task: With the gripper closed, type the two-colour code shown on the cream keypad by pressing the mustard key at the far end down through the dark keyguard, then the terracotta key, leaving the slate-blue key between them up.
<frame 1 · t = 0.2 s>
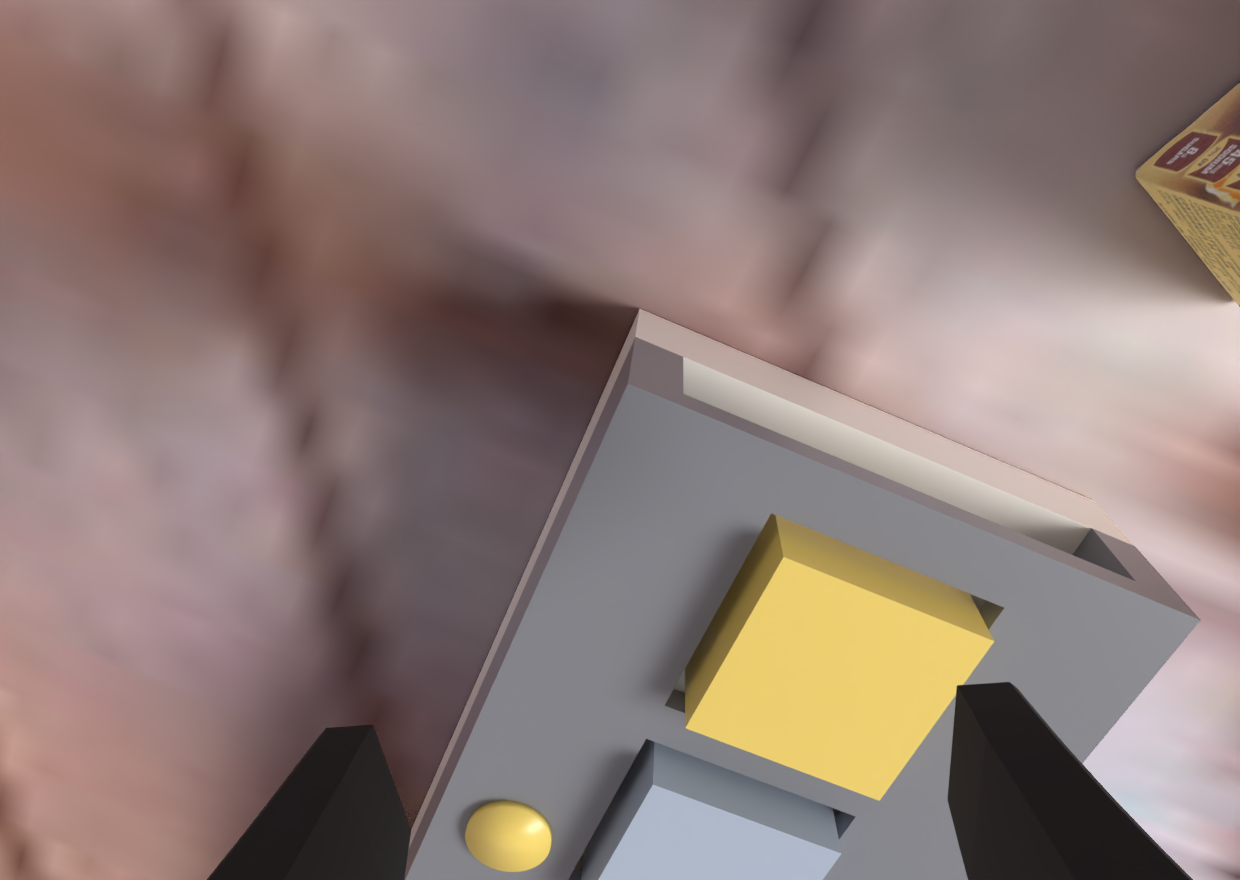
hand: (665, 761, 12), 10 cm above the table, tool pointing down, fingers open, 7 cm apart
key 3: (703, 850, 19), point 4 cm above the table, slide at 0.0 cm
key 4: (827, 655, 17), point 4 cm above the table, slide at 0.0 cm
keypad: (656, 782, 25), on the table
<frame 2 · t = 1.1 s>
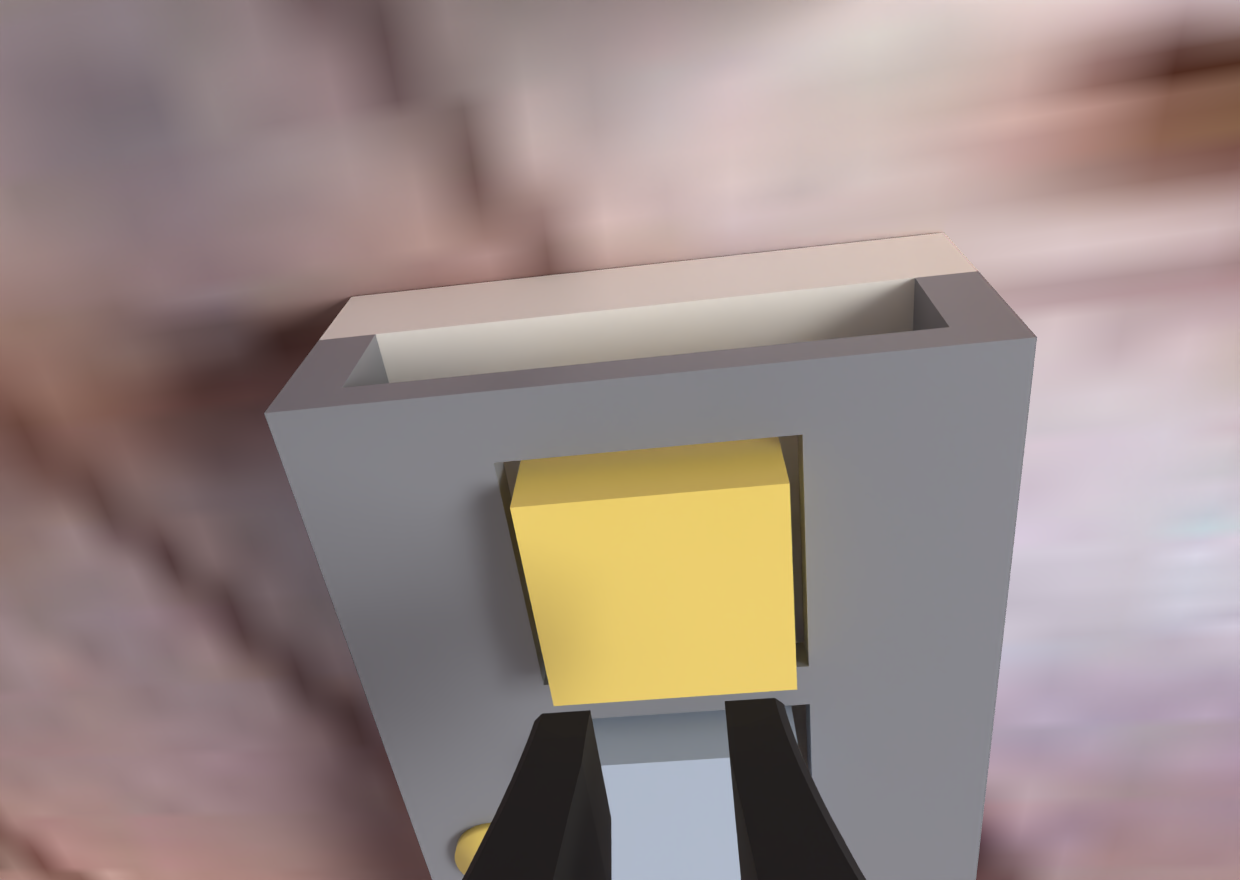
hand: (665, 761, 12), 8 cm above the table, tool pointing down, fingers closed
key 3: (690, 794, 18), point 4 cm above the table, slide at 0.0 cm
key 4: (661, 567, 15), point 4 cm above the table, slide at 0.0 cm
keypad: (692, 716, 23), on the table
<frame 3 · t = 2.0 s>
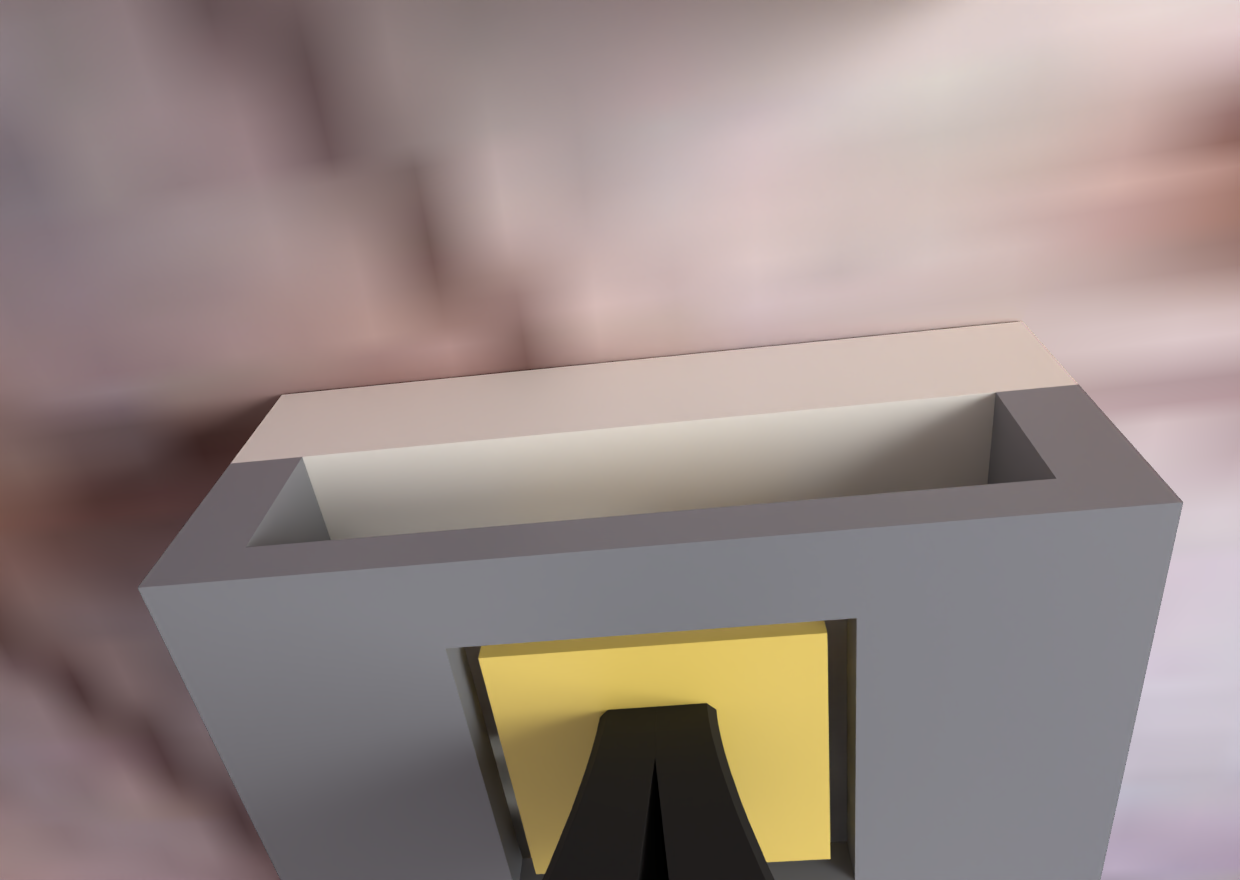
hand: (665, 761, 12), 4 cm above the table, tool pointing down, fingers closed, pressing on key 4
key 4: (665, 711, 12), point 4 cm above the table, slide at 0.9 cm, touching gripper
keypad: (701, 861, 19), on the table
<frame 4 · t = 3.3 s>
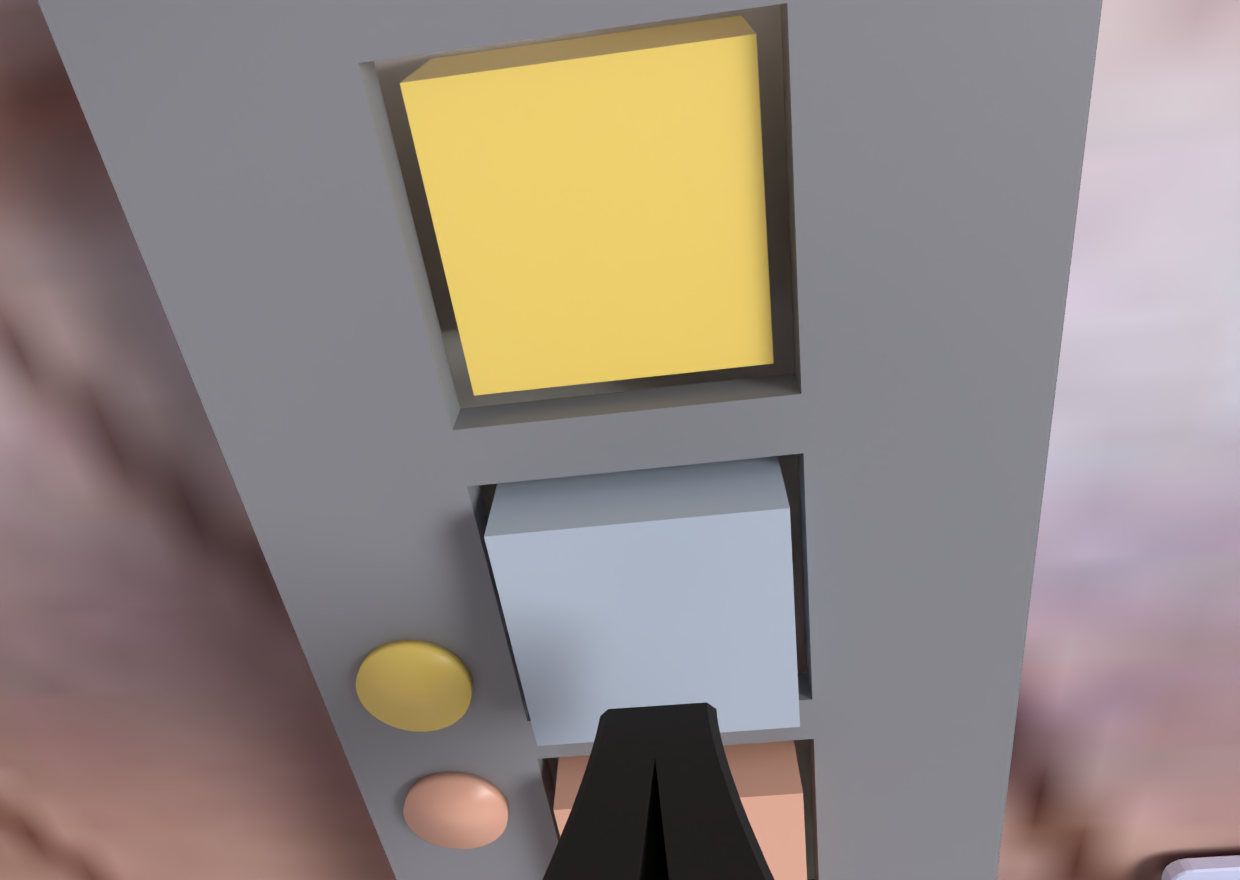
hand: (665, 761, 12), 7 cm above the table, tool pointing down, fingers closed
key 3: (651, 596, 14), point 4 cm above the table, slide at 0.0 cm
key 2: (686, 832, 17), point 4 cm above the table, slide at 0.0 cm
key 4: (603, 211, 12), point 3 cm above the table, slide at 1.2 cm
keypad: (665, 556, 19), on the table
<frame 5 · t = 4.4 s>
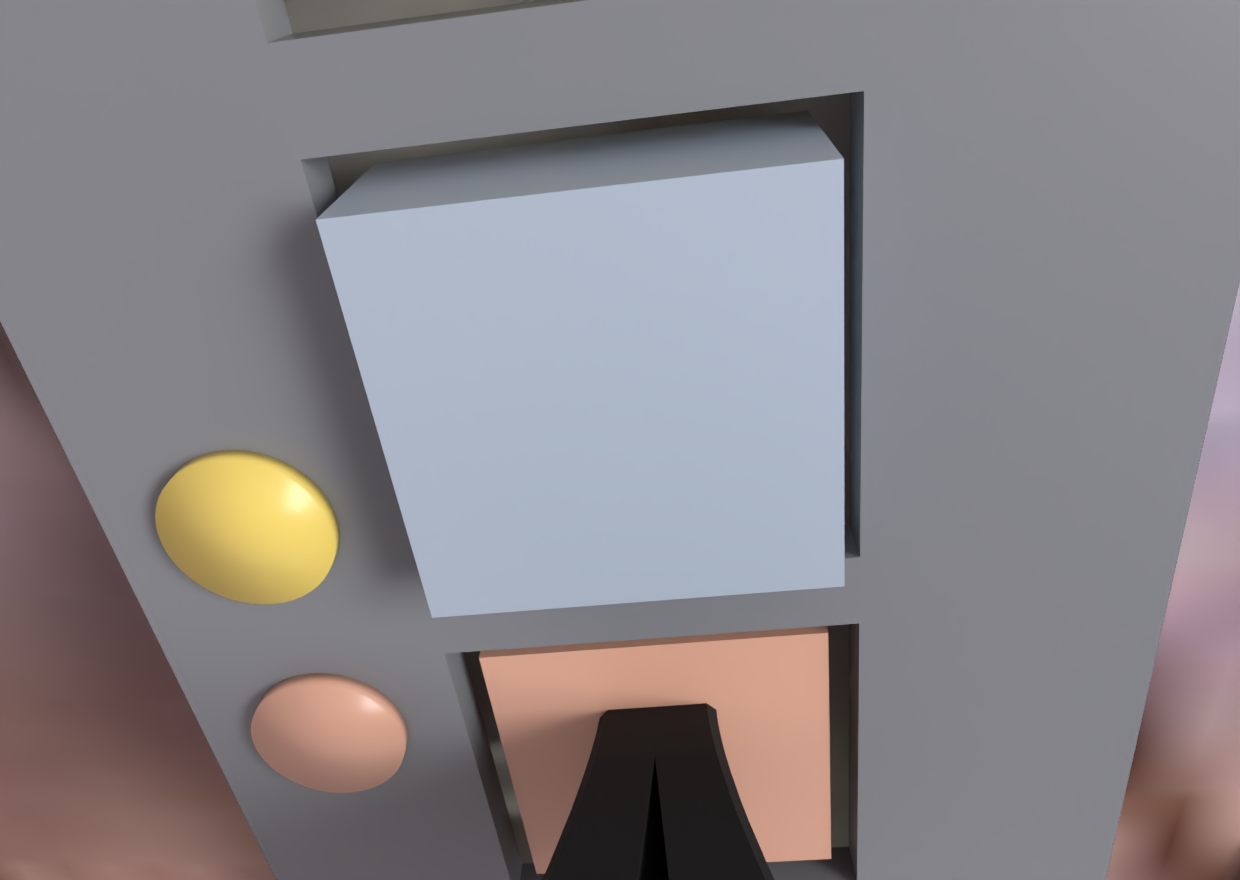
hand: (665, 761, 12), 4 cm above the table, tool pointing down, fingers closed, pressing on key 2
key 3: (611, 375, 9), point 4 cm above the table, slide at 0.0 cm
key 2: (666, 710, 12), point 3 cm above the table, slide at 1.0 cm, touching gripper
keypad: (645, 406, 14), on the table
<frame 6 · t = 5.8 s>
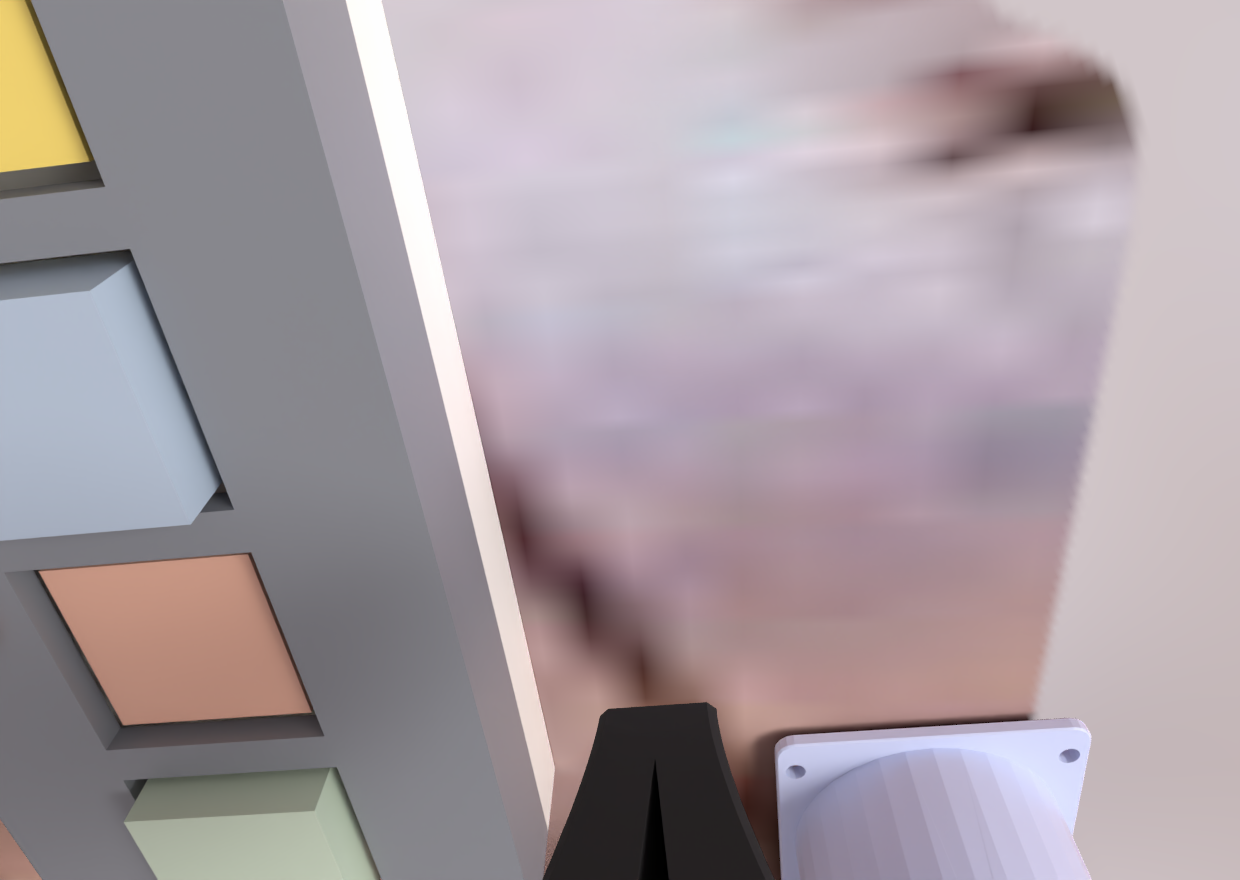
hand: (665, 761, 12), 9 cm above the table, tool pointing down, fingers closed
key 3: (51, 400, 15), point 4 cm above the table, slide at 0.0 cm
key 2: (201, 614, 19), point 3 cm above the table, slide at 1.2 cm
keypad: (221, 414, 20), on the table
key 1: (265, 841, 20), point 4 cm above the table, slide at 0.0 cm
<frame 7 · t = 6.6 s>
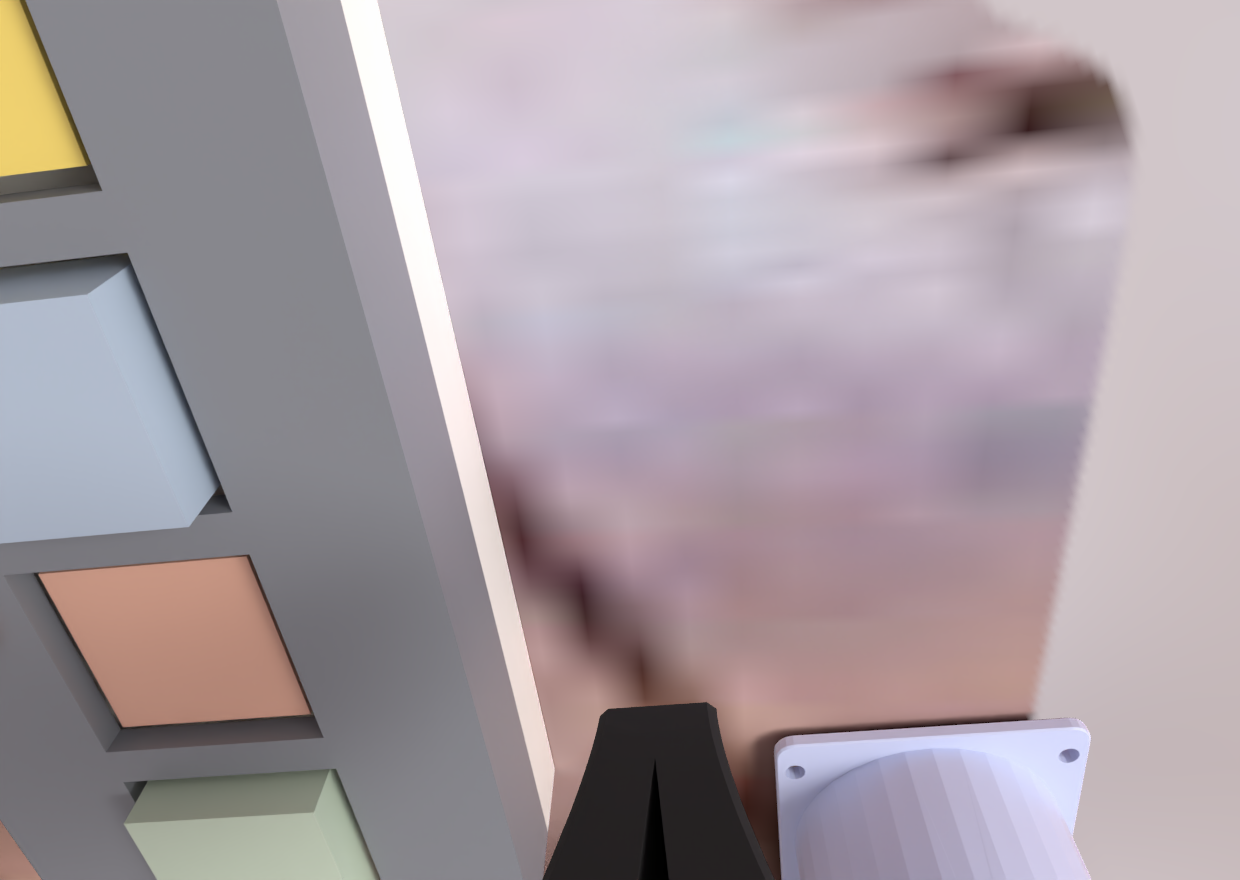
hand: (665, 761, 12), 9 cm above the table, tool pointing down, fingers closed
key 3: (50, 403, 15), point 4 cm above the table, slide at 0.0 cm
key 2: (200, 616, 19), point 3 cm above the table, slide at 1.2 cm
keypad: (220, 417, 20), on the table
key 1: (265, 842, 20), point 4 cm above the table, slide at 0.0 cm
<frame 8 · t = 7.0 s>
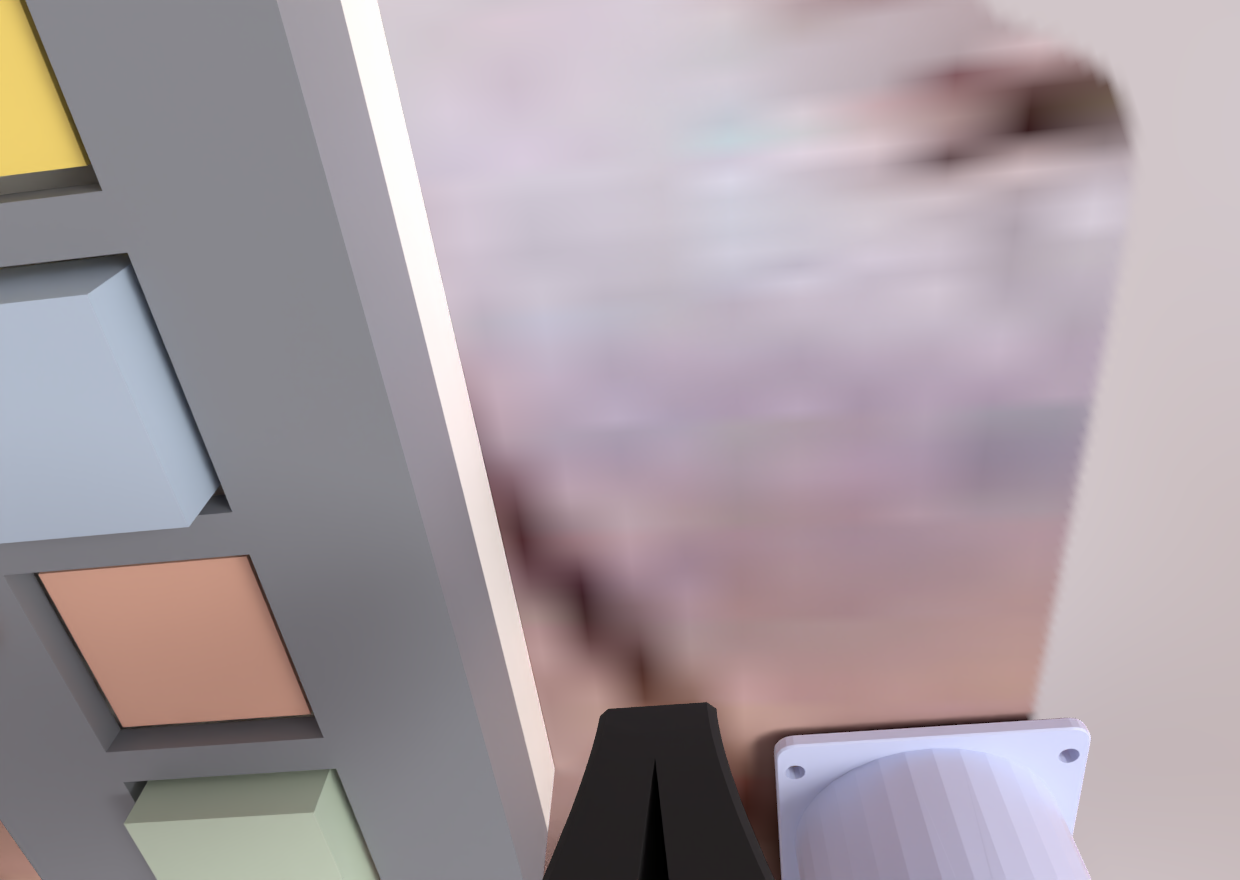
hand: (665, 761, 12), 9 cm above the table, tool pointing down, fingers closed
key 3: (50, 403, 15), point 4 cm above the table, slide at 0.0 cm
key 2: (200, 616, 19), point 3 cm above the table, slide at 1.2 cm
keypad: (220, 417, 20), on the table
key 1: (265, 842, 20), point 4 cm above the table, slide at 0.0 cm
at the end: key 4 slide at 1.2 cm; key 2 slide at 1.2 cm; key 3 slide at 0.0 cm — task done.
